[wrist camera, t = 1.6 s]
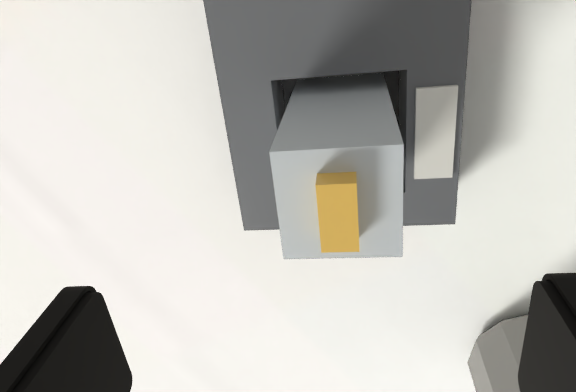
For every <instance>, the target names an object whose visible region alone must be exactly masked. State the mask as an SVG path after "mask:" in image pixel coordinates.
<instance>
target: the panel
mask: <svg viewBox="0 0 576 392" xmlns="http://www.w3.org/2000/svg"><path fill="white" fill-rule="evenodd" d="M203 1H204V7H205V13H206V18H207V24H208V30H209V35H210V41H211V46H212V52H213V58H214V63H215V69H216V75H217V80H218V86H219V91H220V97H221V103H222V108H223V114H224V120H225V125H226V131H227V136H228V142H229V148H230V153H231V159H232V165H233V170H234V176H235V181H236V187H237V193H238V198H239V204H240V210H241V215H242V221H243V226H244V230H274V229H280V228H279V221H278V214H277V206H276V199H275V191H274V184H273V177H272V169H271V162H270V154H269V151H270V149H271V146H272V143H273V141H274V138H275V136H276V133H277V131H278V128H279V125H280V123H281V120H282V118H283V115H284V113H285V104H284V95H283V86H282V80H284V79H297V78H309V77H322V76H334V75H347V74H359V73H372V72H384V71H397V70H400V71H399V130H400V133H401V137H402V140H403V144H404V166H403V226H408V225H441V224H455V218H456V204H457V190H458V176H459V163H460V149H461V135H462V121H463V108H464V94H465V80H466V66H467V53H468V39H469V25H470V11H471V0H203Z"/></svg>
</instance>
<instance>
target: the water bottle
mask: <svg viewBox="0 0 576 392" xmlns="http://www.w3.org/2000/svg"><path fill="white" fill-rule="evenodd" d="M527 319H528V315H524V316H519V317H515V318H511V319H506V320H502V321H501V322H499V323H498V324H496V325H495V326H493V327H492V328H490V329H489V330H487V331H486V332H484V333H483V334H481V335H480V336H479V337H478V339H477V340H476V342H475V345H474V347H473V350H472V352H471V355H470V357H469V360H468V365H469V369H470V372H471V376H472V379H473V382H474V386H475V389H476V392H520V389H519V385H518V370H519V364H520V359H521V353H522V347H523V341H524V336H525V330H526V324H527Z"/></svg>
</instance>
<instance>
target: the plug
mask: <svg viewBox="0 0 576 392" xmlns="http://www.w3.org/2000/svg"><path fill="white" fill-rule="evenodd" d="M269 154H270V162H271V169H272V177H273V184H274V191H275V199H276V206H277V214H278V221H279V228H280V236H281V243H282V250H283V258H284V259H320V258H370V257H402V256H403V166H404V144H403V140H402V137H401V133H400V130H399V126H398V123H397V119H396V116H395V113H394V109H393V106H392V102H391V99H390V95H389V92H388V88H387V85H386V81H385V78H384V75H383V72H381V73H368V74H356V75H343V76H331V77H318V78H306V79H297V82H296V84H295V87H294V89H293V92H292V95H291V97H290V100H289V102H288V105H287V107H286V110H285V113H284V115H283V118H282V120H281V123H280V125H279V128H278V131H277V133H276V136H275V138H274V141H273V143H272V146H271V149H270V151H269Z"/></svg>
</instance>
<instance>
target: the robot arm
mask: <svg viewBox="0 0 576 392" xmlns="http://www.w3.org/2000/svg"><path fill="white" fill-rule="evenodd" d="M518 385H519V389H520V392H576V273H554V274H545V275H544V277H543V279H542V281H536V282H535V283H534V285H533V290H532V296H531V301H530V307H529V313H528V319H527V324H526V330H525V336H524V341H523V347H522V353H521V359H520V364H519V370H518ZM131 386H132V374H131V371H130V368H129V365H128V363H127V360H126V357H125V355H124V352H123V349H122V346H121V344H120V341H119V338H118V336H117V333H116V330H115V328H114V325H113V322H112V319H111V317H110V314H109V311H108V309H107V306H106V303H105V301H104V298H103V296H102V294H101V293H99V292H96V290H95V289H94V288H93V287H91V286H75V287H65V288H63V289H62V290H61V291H60V292H59V294H58V295H57V296H56V297H55V299H54V300H53V301H52V302H51V303H50V305H49V306H48V307H47V308H46V310H45V311H44V312H43V313H42V314H41V316H40V317H39V318H38V319H37V320H36V322H35V323H34V324H33V325H32V327H31V328H30V329H29V330H28V331H27V333H26V334H25V335H24V336H23V338H22V339H21V340H20V341H19V342H18V344H17V345H16V346H15V347H14V349H13V350H12V351H11V352H10V353H9V355H8V356H7V357H6V358H5V360H4V361H3V362H2V363H1V364H0V392H130V390H131Z"/></svg>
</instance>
